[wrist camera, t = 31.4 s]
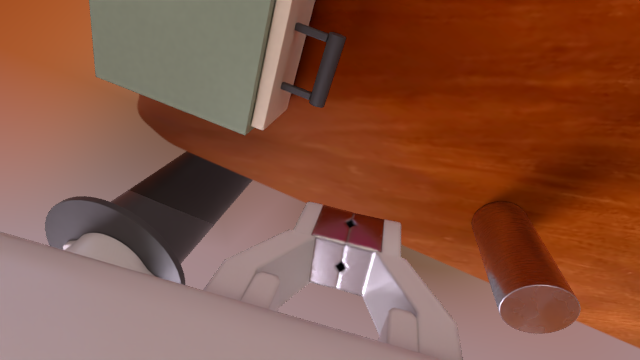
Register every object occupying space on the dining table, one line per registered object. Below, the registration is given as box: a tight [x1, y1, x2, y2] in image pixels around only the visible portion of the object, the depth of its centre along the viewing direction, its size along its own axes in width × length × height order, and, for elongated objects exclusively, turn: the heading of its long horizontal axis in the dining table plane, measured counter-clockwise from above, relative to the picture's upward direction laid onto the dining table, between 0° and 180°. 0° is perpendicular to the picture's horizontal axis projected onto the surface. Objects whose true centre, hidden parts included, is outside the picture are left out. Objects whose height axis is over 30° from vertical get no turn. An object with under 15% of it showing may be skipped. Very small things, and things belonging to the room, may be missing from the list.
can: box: [472, 202, 580, 334], centre depth 30 cm, size 6×6×12 cm
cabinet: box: [89, 0, 275, 135], centre depth 28 cm, size 15×14×9 cm
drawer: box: [251, 0, 346, 130], centre depth 27 cm, size 18×12×7 cm
